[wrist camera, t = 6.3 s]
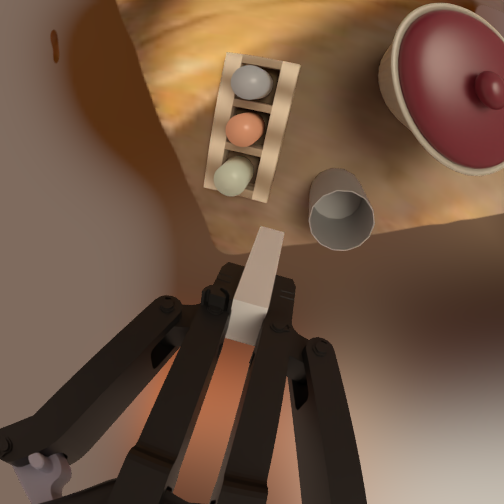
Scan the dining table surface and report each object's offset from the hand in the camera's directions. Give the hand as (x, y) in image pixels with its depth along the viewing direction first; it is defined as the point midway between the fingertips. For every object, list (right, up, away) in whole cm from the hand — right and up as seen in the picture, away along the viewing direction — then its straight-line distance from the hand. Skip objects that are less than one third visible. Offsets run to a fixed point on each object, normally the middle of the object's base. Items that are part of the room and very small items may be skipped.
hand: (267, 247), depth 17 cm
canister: (+23, +24, +11) cm, 35 cm away
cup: (+12, +9, +24) cm, 28 cm away
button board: (-1, +18, +20) cm, 27 cm away
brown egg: (-1, +18, +19) cm, 26 cm away
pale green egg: (-3, +12, +22) cm, 25 cm away
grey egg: (0, +22, +14) cm, 26 cm away
